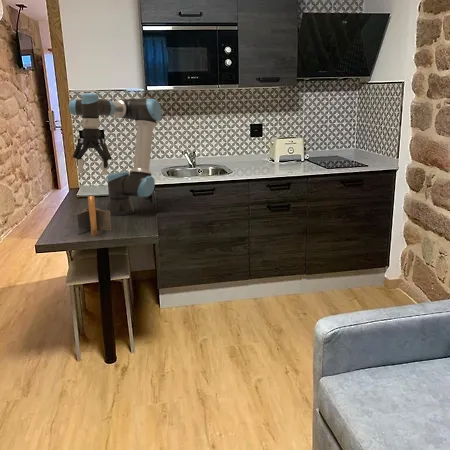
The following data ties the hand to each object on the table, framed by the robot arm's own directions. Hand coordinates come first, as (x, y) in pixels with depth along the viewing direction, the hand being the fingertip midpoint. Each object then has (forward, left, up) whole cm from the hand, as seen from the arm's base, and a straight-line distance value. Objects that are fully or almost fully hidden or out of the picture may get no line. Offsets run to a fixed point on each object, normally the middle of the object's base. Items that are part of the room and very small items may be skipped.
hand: (92, 174), depth 222 cm
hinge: (-2, -4, -29) cm, 30 cm away
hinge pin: (+3, 0, -29) cm, 29 cm away
